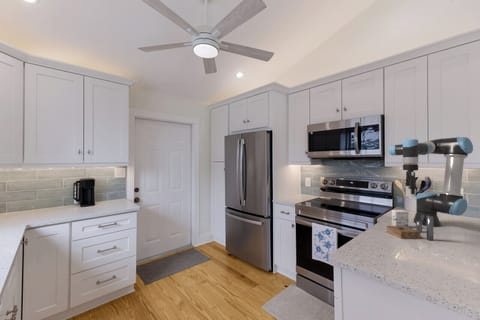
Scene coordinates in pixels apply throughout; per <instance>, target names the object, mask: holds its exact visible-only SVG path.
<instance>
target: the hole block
mask: <svg viewBox="0 0 480 320" xmlns="http://www.w3.org/2000/svg"><path fill="white" fill-rule="evenodd" d="M386 233H388V234H390V235H392V236H395V237H396V238H399V239H402V240H405V239H406V240H407V239H410V240H416V239H417V240H419V239H418V238H420V239H421V233H420V232H419V231H416V229H414V228H411V227H409V226H408V227H406V226H392V225H386Z"/></svg>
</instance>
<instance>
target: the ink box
mask: <svg viewBox="0 0 480 320" xmlns="http://www.w3.org/2000/svg"><path fill="white" fill-rule="evenodd" d="M391 226H406V227H409V211H407V210H404V209H403V210H401V209H399V210H398V209H391Z"/></svg>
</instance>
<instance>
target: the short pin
mask: <svg viewBox="0 0 480 320" xmlns="http://www.w3.org/2000/svg"><path fill="white" fill-rule="evenodd" d="M415 230H416V231H419V232H420V234H421V233H423V225H422V221H416V223H415Z"/></svg>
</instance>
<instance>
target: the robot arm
mask: <svg viewBox="0 0 480 320" xmlns="http://www.w3.org/2000/svg"><path fill="white" fill-rule="evenodd" d="M473 151H474V145H473V142H472V140H471V139H470V138H468V137H466V136H461V137H459V136H456V137H446V138H445V137H444V138H438V139H436V138H435V139H433V140H427V141H423V142H419V140H418V139H416V138H410V139H404V140H402V143H401V144H392V145H389V148H388V152H389V155H391V156H402V158H401V161H402V170H403V171H406V172H405V197H409V200H410V201H411V200H413V201H416V204H415V205H416V207H415V208H416V212H415V215H414V218H413V223H415V224H416V221H422V226H425V227H427V216H433V227H441V222H440V219H439V216H438V213H442V214H446V215H447V214H448V215H450V216H462V215H463V214H465V212H467V209H468V201H467V199H466V198H464V195H463V194H461V190H462V181H463V171H464V162H465V159H466V158H468V155H470V154H472V153H473ZM429 154H433V155H443V157H444V158H445V159H446V160H445V161H446V163H445V169H444V179H443V185H442V186H443V188H442V191H441V192H440V193H439V195H438V193H435V192H422V193H421V192H419V193H417V194H416V190H417V181H416V172H415V171H419V156H425V155H426V156H427V155H429Z"/></svg>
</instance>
